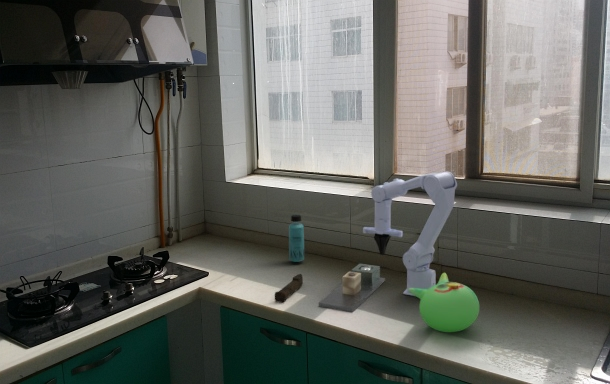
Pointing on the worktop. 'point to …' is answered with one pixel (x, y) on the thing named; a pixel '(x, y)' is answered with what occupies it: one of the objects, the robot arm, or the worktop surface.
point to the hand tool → (289, 288)
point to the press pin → (366, 268)
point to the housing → (351, 283)
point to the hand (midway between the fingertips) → (382, 253)
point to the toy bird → (447, 305)
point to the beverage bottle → (296, 240)
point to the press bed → (351, 302)
